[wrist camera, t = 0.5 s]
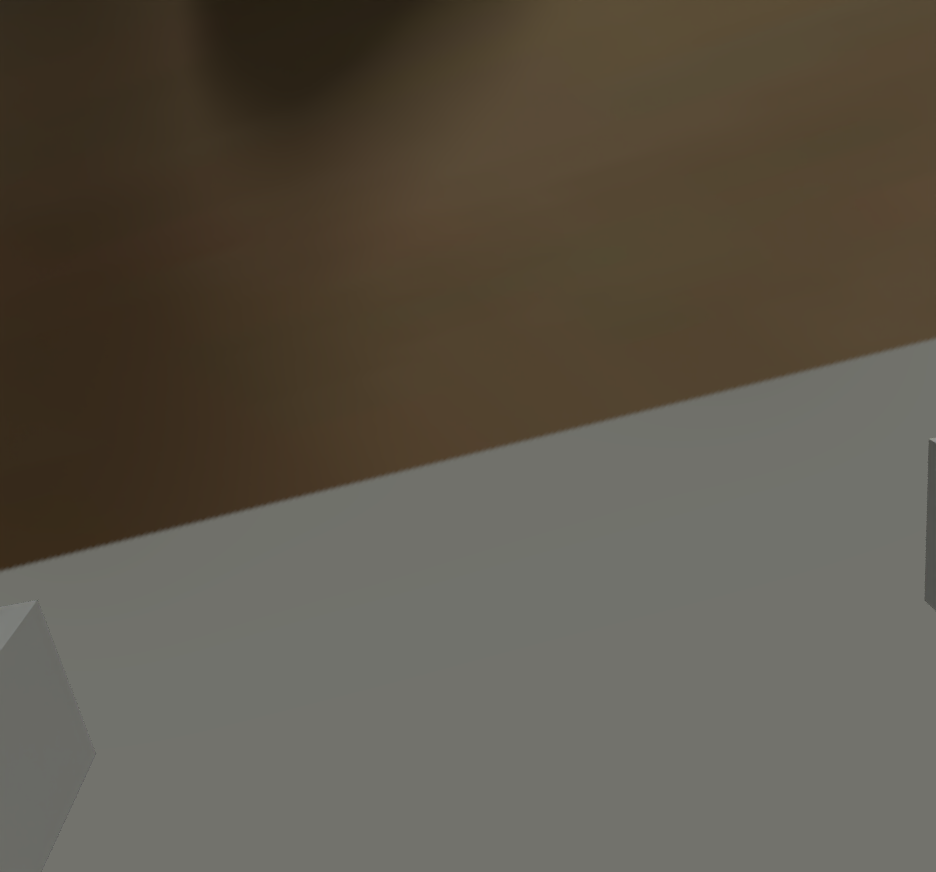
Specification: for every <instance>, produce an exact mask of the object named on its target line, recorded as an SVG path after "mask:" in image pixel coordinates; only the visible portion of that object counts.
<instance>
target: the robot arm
mask: <svg viewBox="0 0 936 872" xmlns="http://www.w3.org/2000/svg"><path fill="white" fill-rule="evenodd" d="M928 454H929V455H928V492H927V530H926V532H927V533H926V569H925V601H926V602H927V603H928V604H929V605H930V606H931V607H932V608H934V609H935V610H936V438H931V439H929V453H928ZM95 755H96V752H95V750H94V747H93V744H92V742H91V739H90V736H89V734H88V731H87V729H86V726H85V723H84V721H83V718H82V716H81V713H80V710H79V707H78V705H77V702H76V700H75V697H74V694H73V692H72V689H71V686H70V684H69V681H68V678H67V676H66V673H65V671H64V668H63V665H62V663H61V660H60V658H59V655H58V652H57V649H56V647H55V645H54V642H53V639H52V637H51V634H50V631H49V629H48V626H47V623H46V621H45V618H44V615H43V613H42V610H41V607H40V605H39V602H38V600H34V601H28V602H23V603H17V604H11V605H6V606H0V872H42V870H43V867H44V865H45V863H46V861H47V859H48V857H49V854H50V852H51V850H52V848H53V846H54V844H55V841H56V839H57V837H58V835H59V833H60V831H61V828H62V826H63V824H64V822H65V820H66V817H67V815H68V813H69V811H70V809H71V807H72V805H73V802H74V800H75V798H76V796H77V794H78V792H79V789H80V787H81V785H82V783H83V781H84V778H85V776H86V774H87V772H88V770H89V768H90V766H91V763H92V761H93V759H94V757H95Z"/></svg>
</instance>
